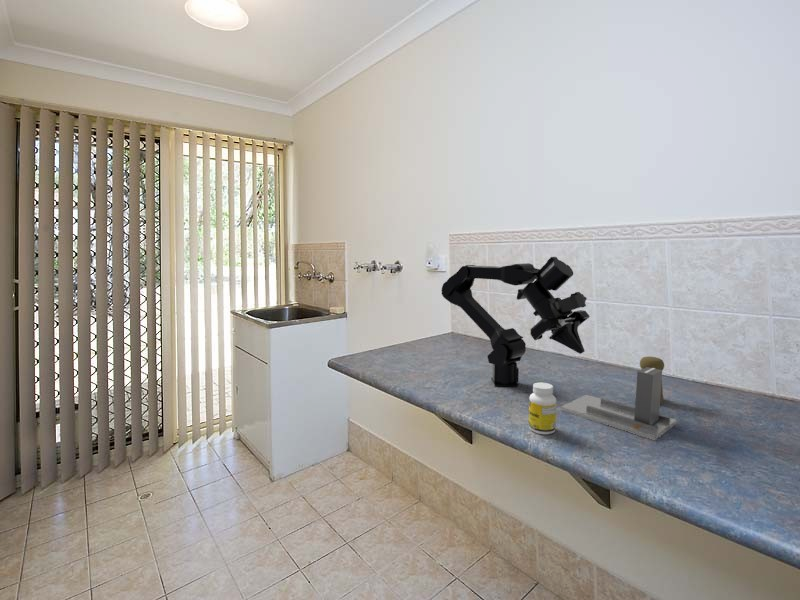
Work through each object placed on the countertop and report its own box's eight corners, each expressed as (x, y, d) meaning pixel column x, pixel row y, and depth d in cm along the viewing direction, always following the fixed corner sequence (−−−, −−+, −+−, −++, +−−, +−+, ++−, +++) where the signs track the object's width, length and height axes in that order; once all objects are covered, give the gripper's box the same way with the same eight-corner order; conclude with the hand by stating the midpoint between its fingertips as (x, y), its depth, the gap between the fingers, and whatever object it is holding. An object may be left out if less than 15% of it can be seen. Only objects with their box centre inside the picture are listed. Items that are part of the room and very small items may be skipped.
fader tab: (634, 421, 87) (637, 370, 85) (643, 415, 90) (646, 366, 88) (649, 425, 84) (653, 374, 83) (658, 419, 87) (662, 369, 86)
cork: (636, 393, 106) (639, 353, 105) (663, 398, 103) (667, 356, 101) (634, 401, 101) (637, 358, 100) (663, 406, 98) (666, 362, 97)
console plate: (561, 410, 96) (561, 402, 96) (585, 398, 103) (586, 390, 103) (654, 440, 80) (655, 431, 80) (676, 424, 88) (676, 415, 88)
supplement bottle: (524, 424, 89) (525, 381, 87) (548, 423, 89) (549, 380, 88) (534, 435, 83) (536, 390, 82) (559, 434, 84) (561, 389, 82)
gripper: (543, 284, 93) (587, 340, 86) (584, 279, 104) (626, 327, 97) (513, 313, 100) (552, 366, 93) (554, 305, 112) (592, 352, 105)
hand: (582, 352), depth 97 cm, fingers closed
